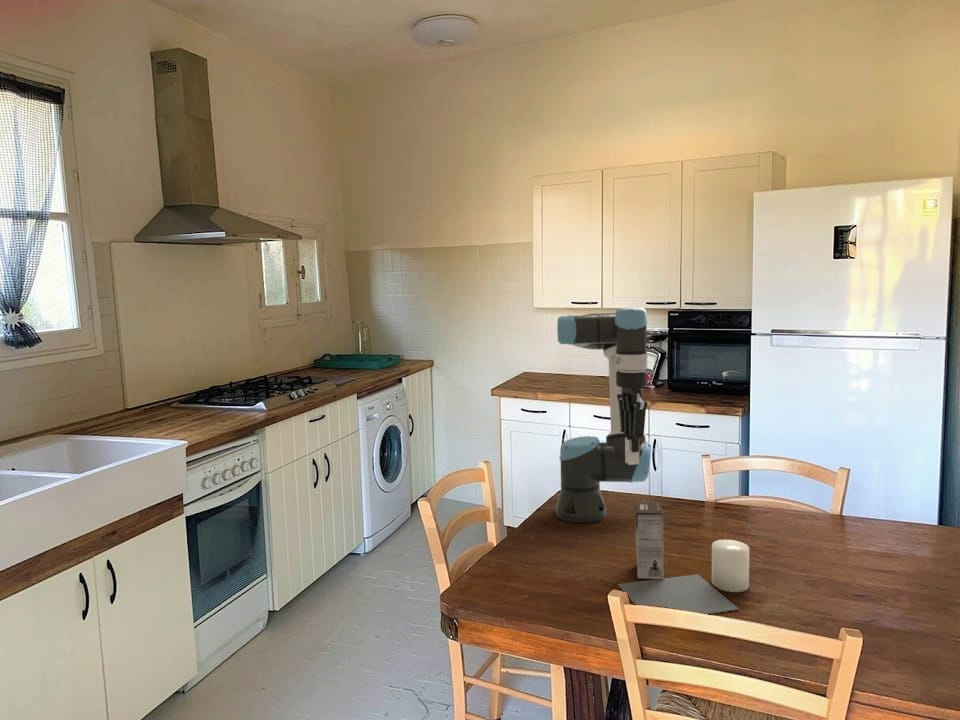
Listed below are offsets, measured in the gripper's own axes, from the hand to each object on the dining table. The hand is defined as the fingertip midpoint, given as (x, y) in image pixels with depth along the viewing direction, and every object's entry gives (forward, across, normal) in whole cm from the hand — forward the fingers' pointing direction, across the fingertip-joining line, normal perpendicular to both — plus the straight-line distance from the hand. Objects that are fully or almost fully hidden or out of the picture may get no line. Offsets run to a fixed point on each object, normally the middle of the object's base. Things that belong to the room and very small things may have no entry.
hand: (632, 463), depth 164 cm
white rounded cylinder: (+25, +20, +15) cm, 35 cm away
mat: (+24, +23, 0) cm, 34 cm away
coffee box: (+24, +10, 0) cm, 26 cm away
